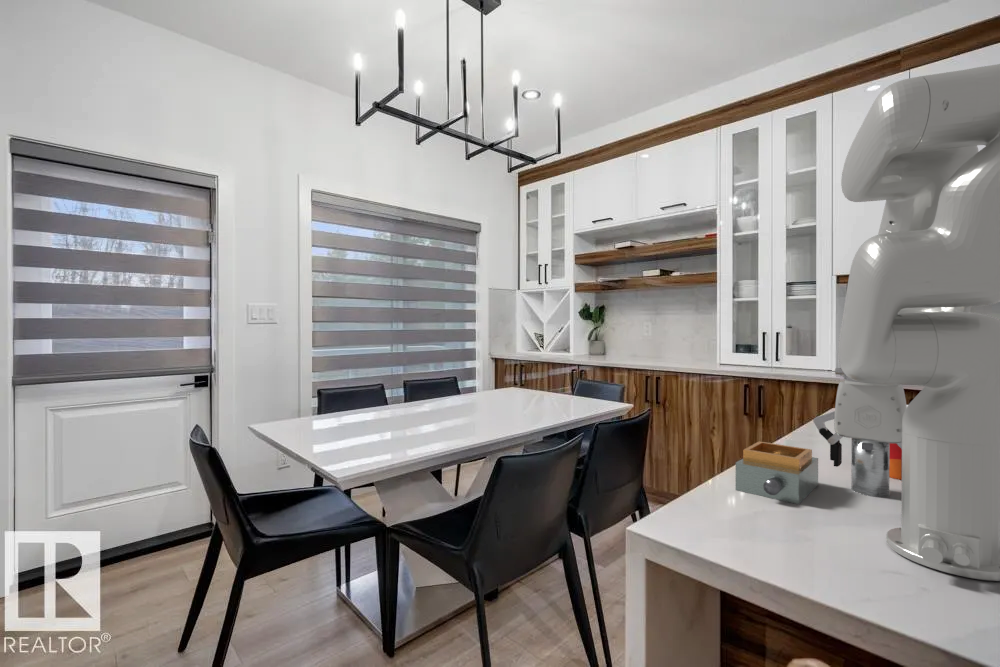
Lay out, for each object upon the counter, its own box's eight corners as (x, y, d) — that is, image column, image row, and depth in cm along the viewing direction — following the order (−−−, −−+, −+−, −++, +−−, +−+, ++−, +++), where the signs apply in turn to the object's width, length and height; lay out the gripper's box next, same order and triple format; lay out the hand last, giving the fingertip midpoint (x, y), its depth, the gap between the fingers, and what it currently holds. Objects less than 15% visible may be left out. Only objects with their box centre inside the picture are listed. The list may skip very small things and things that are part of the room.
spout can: (886, 501, 80) (886, 438, 80) (847, 493, 84) (847, 433, 84) (891, 491, 85) (891, 432, 85) (854, 484, 89) (854, 427, 89)
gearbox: (794, 508, 77) (794, 465, 77) (730, 493, 84) (730, 454, 84) (818, 484, 89) (818, 447, 89) (760, 472, 96) (760, 438, 96)
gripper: (809, 374, 88) (808, 465, 88) (934, 381, 76) (933, 487, 76) (818, 371, 93) (818, 457, 94) (937, 377, 81) (936, 476, 81)
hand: (870, 470), depth 85 cm, fingers open, 9 cm apart
